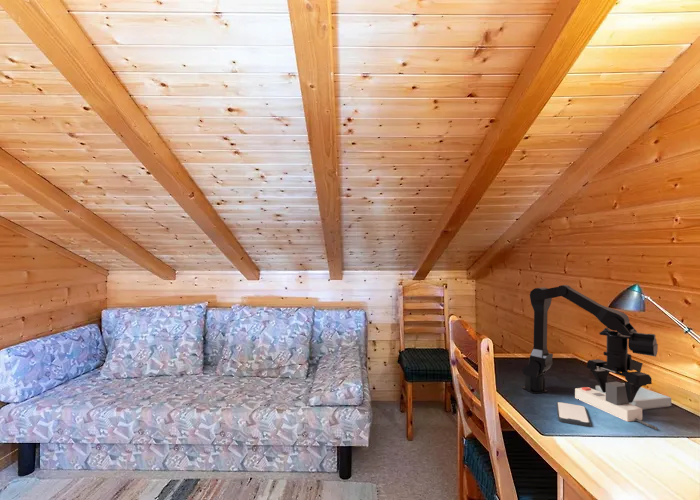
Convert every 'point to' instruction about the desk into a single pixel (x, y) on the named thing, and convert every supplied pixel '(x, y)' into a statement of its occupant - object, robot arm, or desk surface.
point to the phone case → (572, 414)
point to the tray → (647, 399)
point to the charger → (616, 393)
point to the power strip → (610, 405)
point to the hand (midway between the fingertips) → (617, 397)
